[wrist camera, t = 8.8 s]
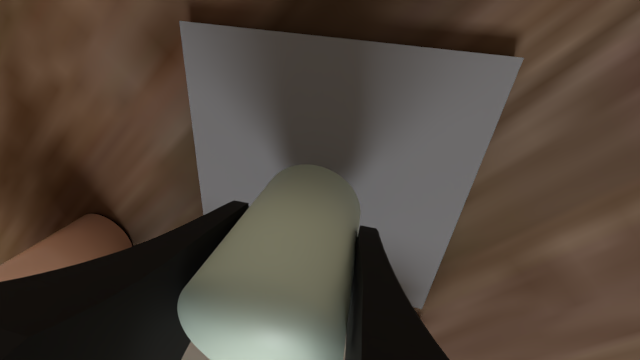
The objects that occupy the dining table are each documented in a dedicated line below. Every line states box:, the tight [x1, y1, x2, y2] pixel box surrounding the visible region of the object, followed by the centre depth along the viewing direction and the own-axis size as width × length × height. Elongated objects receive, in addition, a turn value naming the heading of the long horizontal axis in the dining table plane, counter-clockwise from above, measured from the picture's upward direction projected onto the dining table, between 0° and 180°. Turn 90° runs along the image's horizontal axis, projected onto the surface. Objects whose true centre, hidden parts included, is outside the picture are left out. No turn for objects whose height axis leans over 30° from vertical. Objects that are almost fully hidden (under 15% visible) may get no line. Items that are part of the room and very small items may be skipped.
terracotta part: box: [0, 214, 132, 282], centre depth 18 cm, size 4×4×6 cm
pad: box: [179, 21, 524, 309], centre depth 15 cm, size 14×14×1 cm
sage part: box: [177, 164, 361, 360], centre depth 9 cm, size 4×4×6 cm
